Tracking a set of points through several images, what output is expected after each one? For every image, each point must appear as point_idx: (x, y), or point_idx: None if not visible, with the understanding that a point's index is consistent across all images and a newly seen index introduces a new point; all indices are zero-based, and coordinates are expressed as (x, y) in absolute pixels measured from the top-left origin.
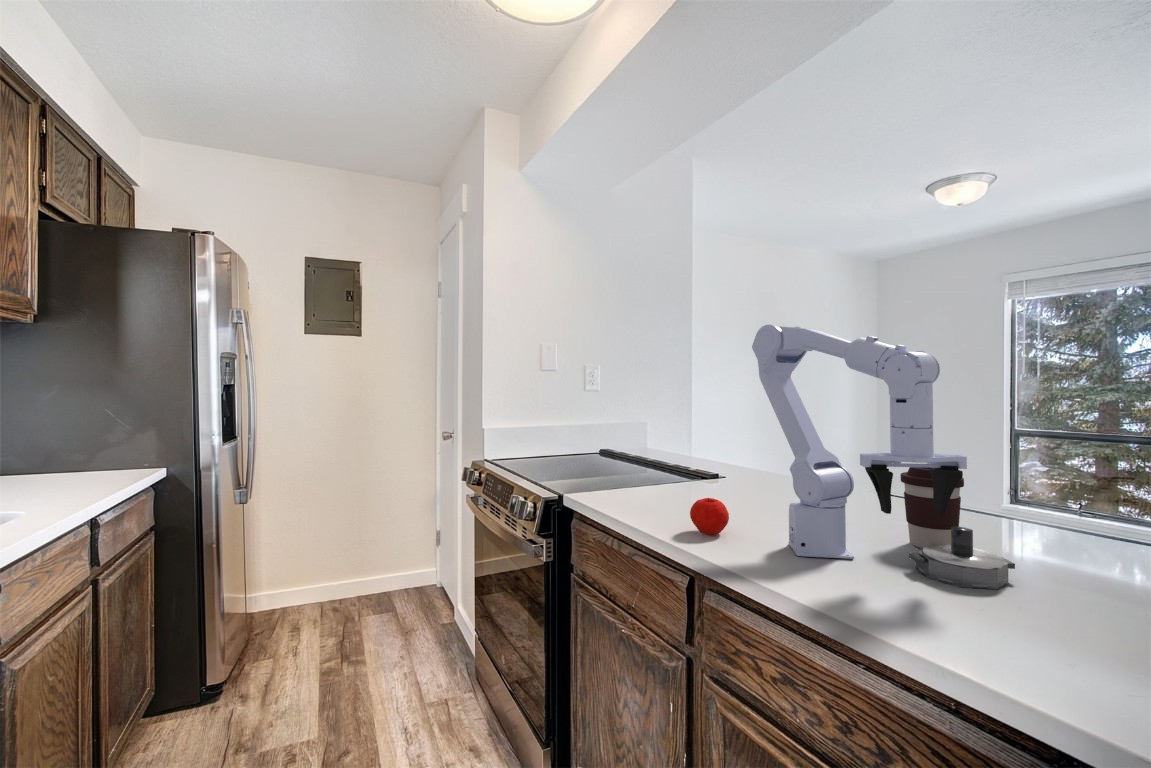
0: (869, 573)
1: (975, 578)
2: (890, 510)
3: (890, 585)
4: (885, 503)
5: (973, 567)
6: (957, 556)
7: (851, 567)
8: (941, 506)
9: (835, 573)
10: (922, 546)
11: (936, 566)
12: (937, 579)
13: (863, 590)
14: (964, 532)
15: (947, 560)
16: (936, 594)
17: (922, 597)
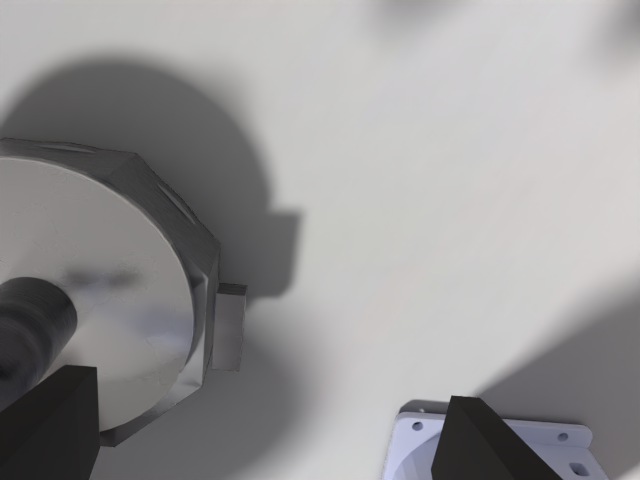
0: (420, 284)
1: (71, 157)
2: (468, 406)
3: (413, 165)
4: (528, 450)
5: (60, 165)
6: (73, 281)
7: (451, 339)
8: (61, 409)
9: (550, 277)
10: None
11: (190, 244)
12: (198, 222)
13: (554, 106)
14: None
15: (150, 225)
16: (285, 75)
17: (361, 39)
